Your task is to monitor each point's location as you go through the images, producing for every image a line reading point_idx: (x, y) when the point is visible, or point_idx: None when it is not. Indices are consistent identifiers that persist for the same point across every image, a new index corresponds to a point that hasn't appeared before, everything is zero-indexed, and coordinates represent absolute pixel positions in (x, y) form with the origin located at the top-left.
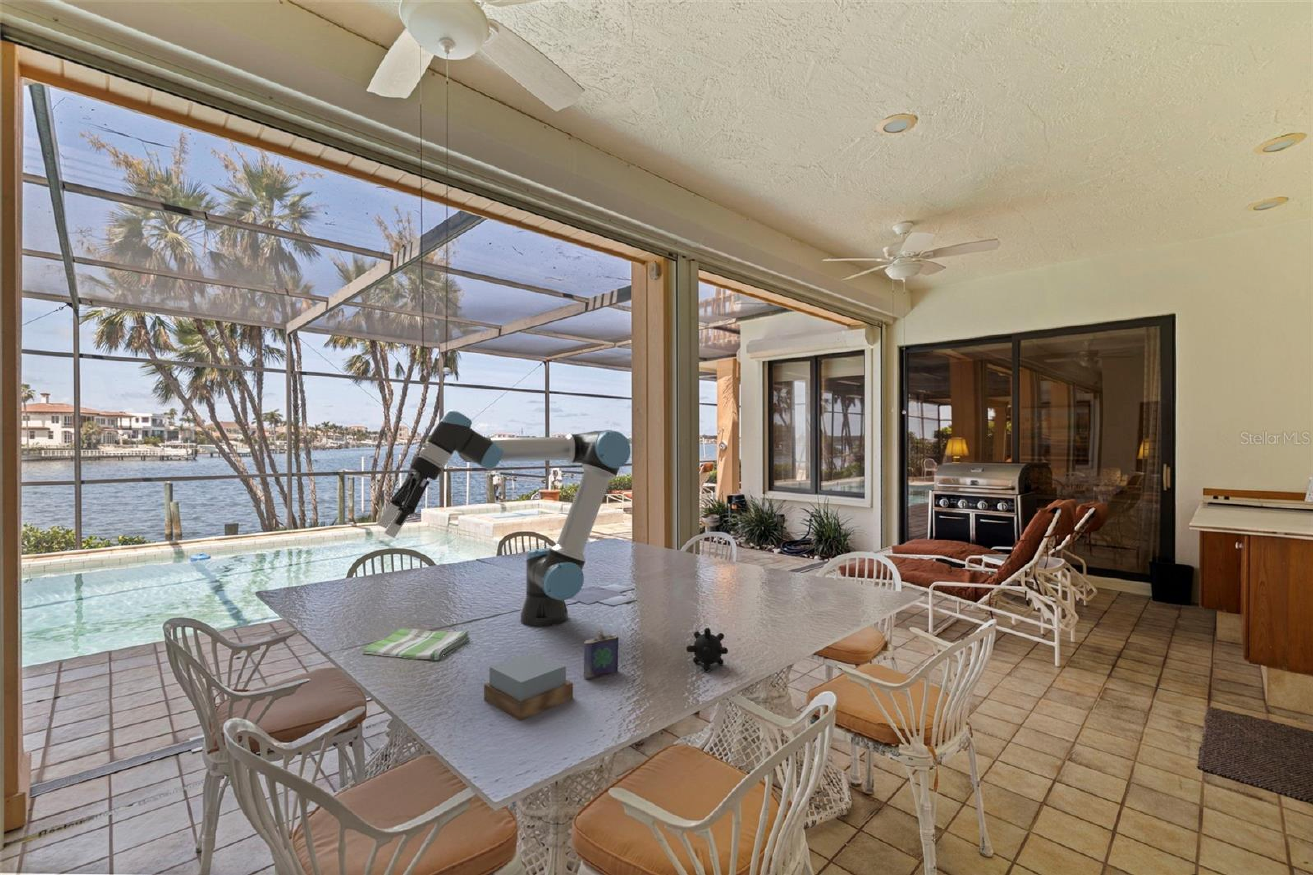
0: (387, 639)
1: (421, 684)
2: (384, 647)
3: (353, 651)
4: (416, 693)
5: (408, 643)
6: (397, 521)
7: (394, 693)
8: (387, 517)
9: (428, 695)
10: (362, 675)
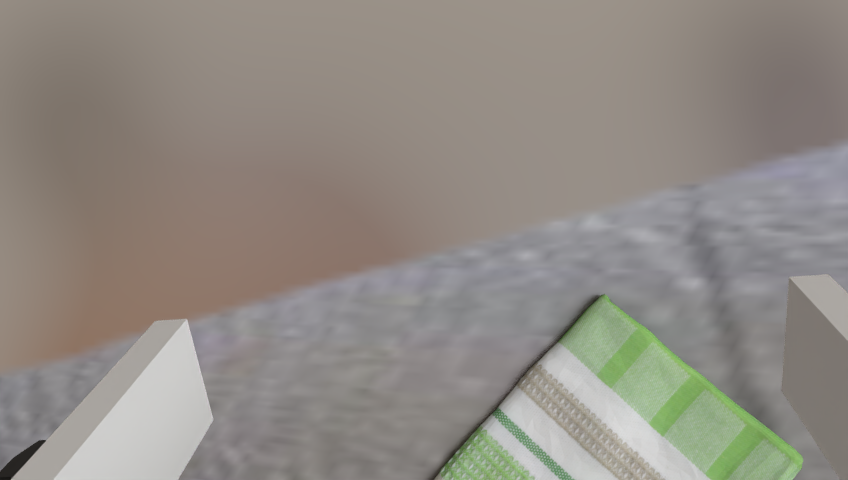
0: (699, 393)
1: None
2: (587, 372)
3: (649, 263)
4: None
5: (591, 469)
6: (10, 469)
7: None
8: (844, 410)
9: None
10: (371, 285)
